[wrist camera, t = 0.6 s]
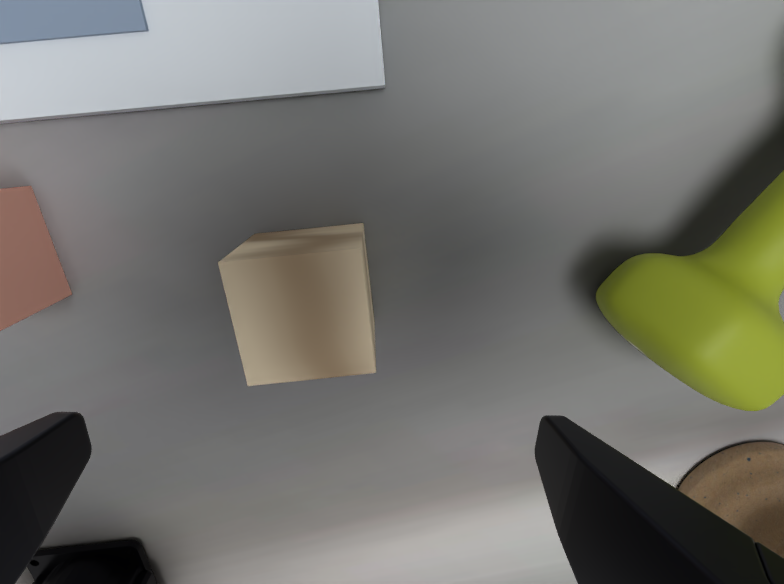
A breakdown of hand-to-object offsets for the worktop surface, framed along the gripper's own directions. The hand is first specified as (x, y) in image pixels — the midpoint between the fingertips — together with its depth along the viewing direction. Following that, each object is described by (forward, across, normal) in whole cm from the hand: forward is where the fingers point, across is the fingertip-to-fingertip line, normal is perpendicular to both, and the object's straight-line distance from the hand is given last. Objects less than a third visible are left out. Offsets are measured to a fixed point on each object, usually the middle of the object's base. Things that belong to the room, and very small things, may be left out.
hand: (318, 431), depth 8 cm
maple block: (+12, +2, +1) cm, 12 cm away
